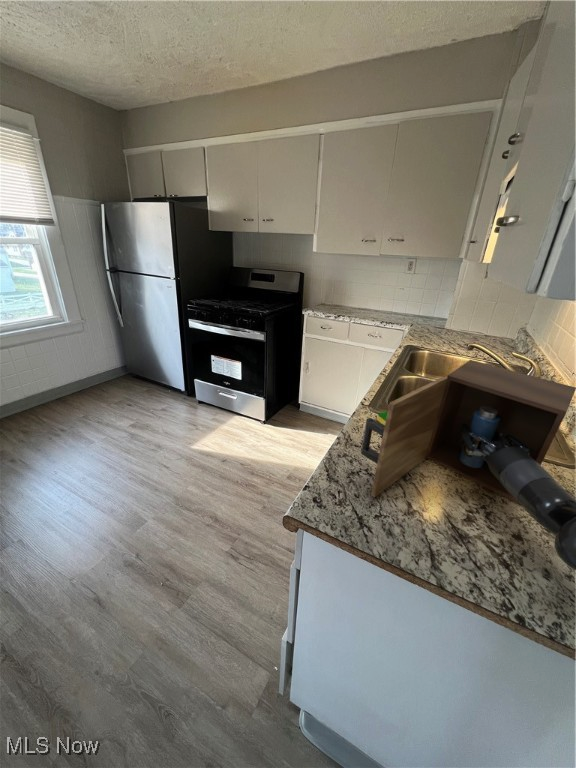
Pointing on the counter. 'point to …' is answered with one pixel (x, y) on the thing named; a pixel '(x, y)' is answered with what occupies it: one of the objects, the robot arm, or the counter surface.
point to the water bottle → (481, 432)
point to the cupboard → (515, 408)
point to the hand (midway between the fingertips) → (474, 427)
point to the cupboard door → (403, 434)
